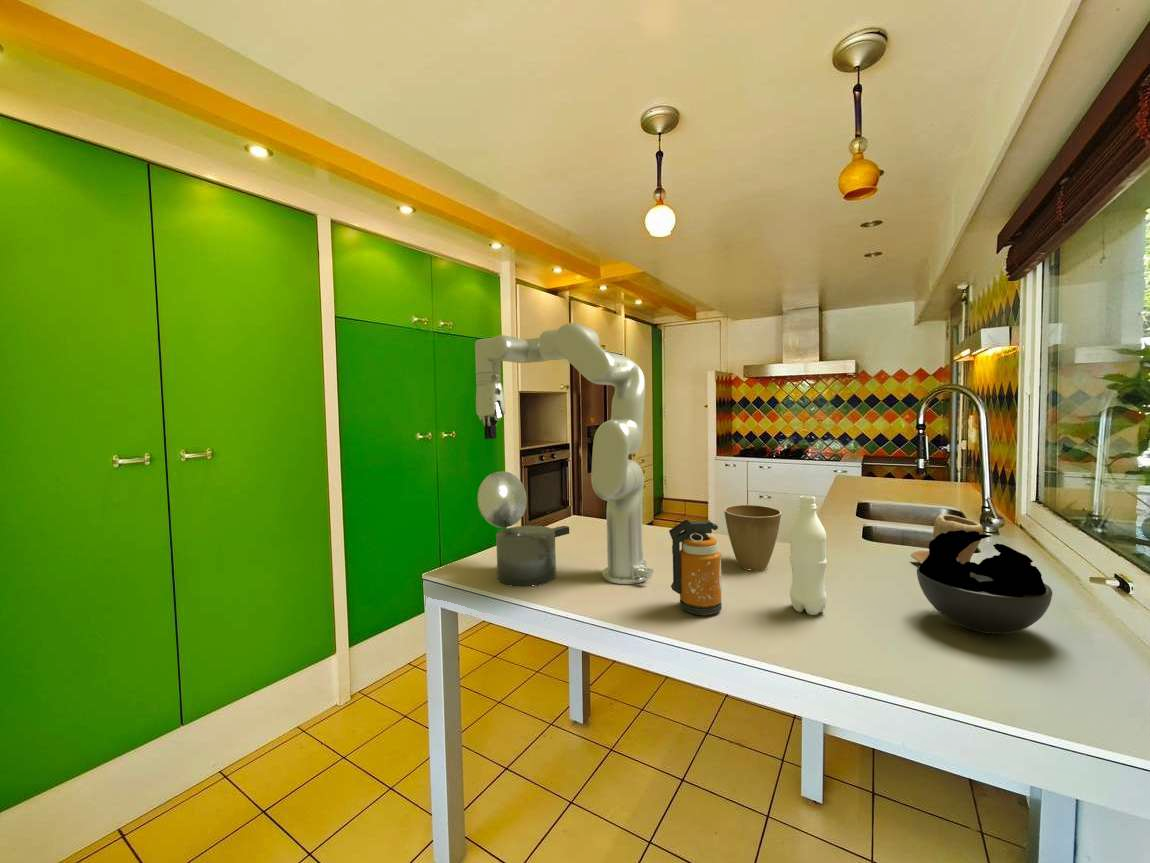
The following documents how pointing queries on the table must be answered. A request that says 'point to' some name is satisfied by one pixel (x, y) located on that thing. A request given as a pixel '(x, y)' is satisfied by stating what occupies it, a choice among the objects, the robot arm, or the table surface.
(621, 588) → the table surface
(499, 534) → the cooker pot
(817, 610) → the water bottle
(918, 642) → the table surface
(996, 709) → the table surface
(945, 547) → the coal bowl
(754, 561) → the plant pot
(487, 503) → the lid
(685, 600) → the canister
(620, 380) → the robot arm
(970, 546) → the stone cup
